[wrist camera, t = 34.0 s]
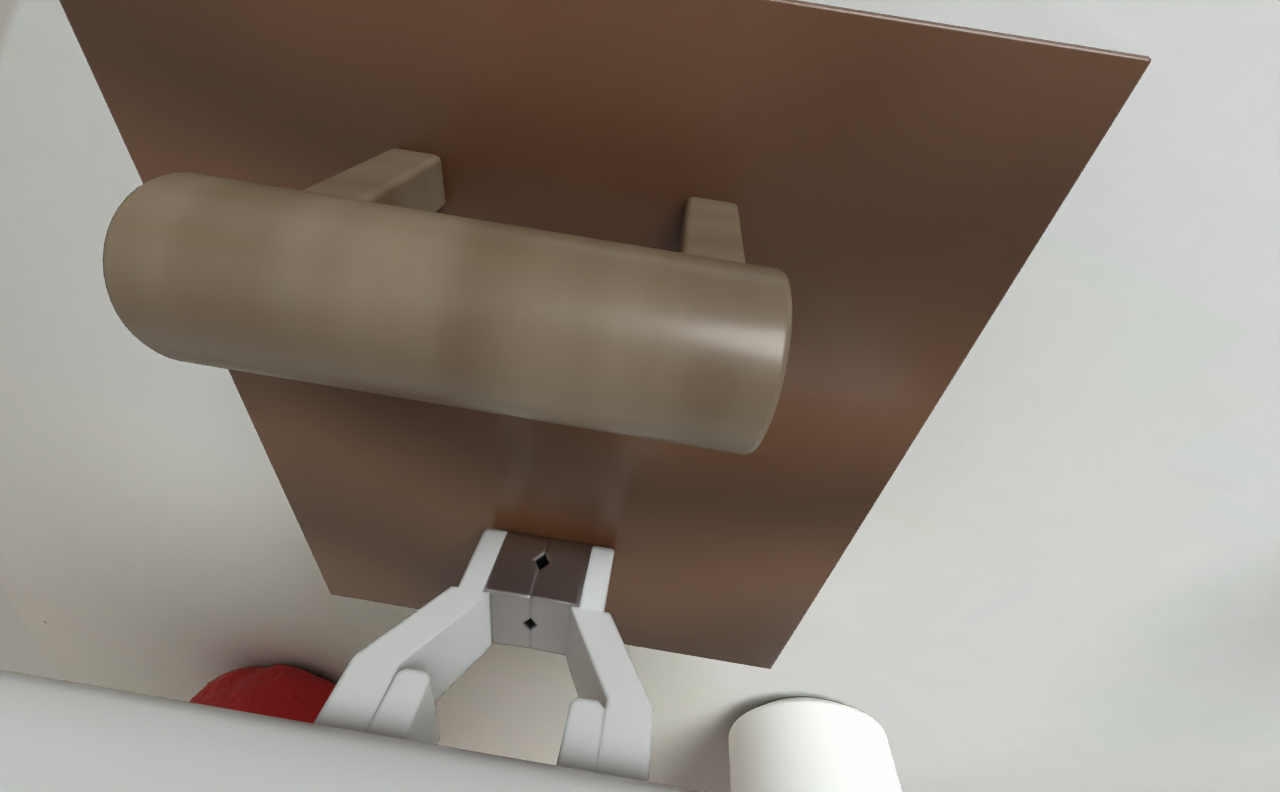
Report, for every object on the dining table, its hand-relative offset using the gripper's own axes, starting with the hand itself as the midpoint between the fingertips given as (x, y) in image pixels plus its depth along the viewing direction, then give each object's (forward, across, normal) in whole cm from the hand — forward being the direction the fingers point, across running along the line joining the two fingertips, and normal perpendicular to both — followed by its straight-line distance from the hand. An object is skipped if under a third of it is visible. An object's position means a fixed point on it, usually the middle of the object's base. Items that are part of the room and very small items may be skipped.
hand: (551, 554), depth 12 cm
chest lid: (+1, 0, -3) cm, 3 cm away
